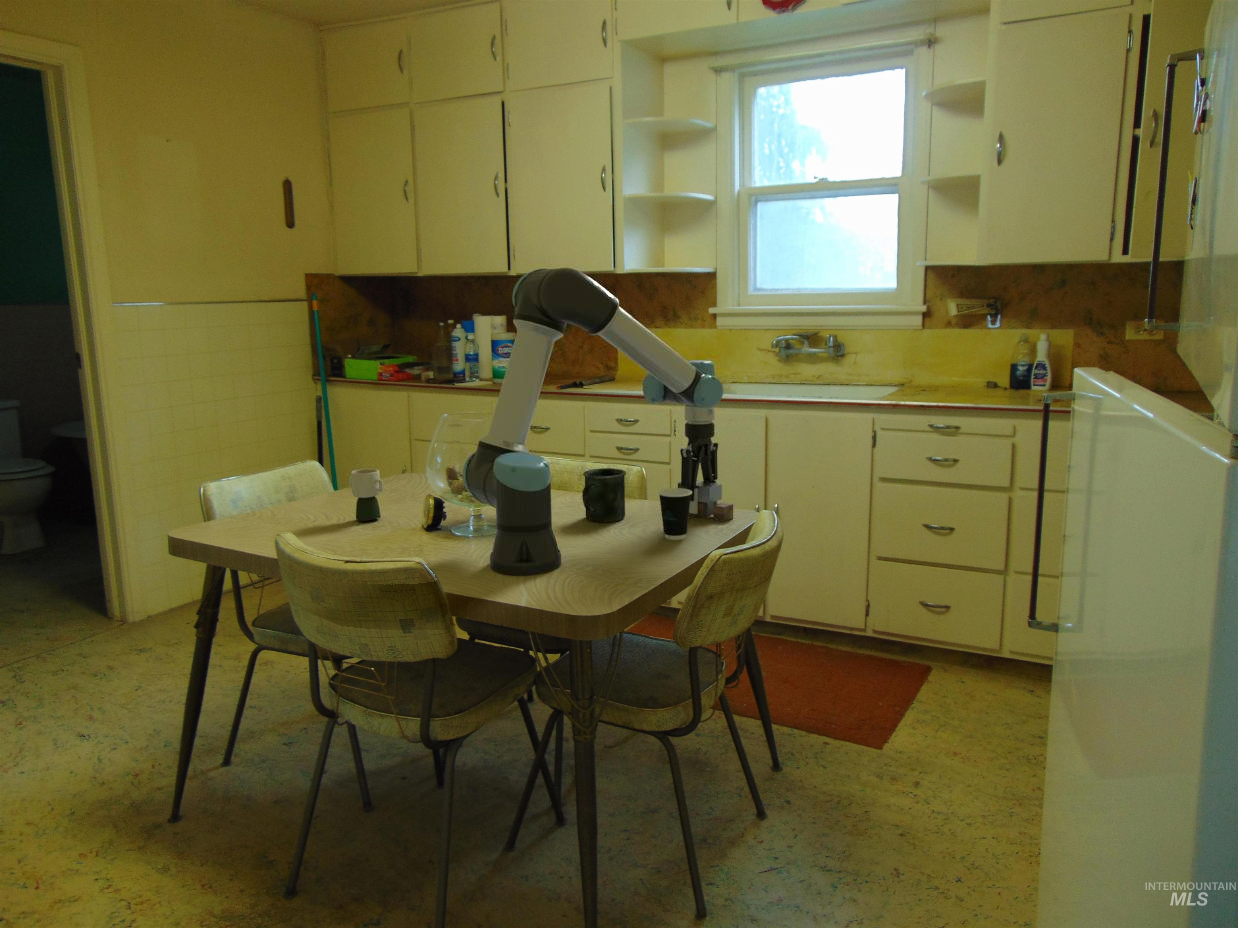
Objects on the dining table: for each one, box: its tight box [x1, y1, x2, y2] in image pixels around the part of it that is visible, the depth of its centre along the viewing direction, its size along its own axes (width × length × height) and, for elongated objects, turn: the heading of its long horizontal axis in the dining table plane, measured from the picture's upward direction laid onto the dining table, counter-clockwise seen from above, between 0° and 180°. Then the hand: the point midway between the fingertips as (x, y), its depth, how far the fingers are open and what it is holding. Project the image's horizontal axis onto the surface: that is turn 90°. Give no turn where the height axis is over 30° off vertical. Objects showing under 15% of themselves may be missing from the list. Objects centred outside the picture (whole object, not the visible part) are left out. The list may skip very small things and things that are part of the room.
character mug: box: [348, 468, 384, 522], centre depth 231 cm, size 11×7×13 cm, turn 64°
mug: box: [581, 467, 627, 523], centre depth 227 cm, size 11×15×12 cm
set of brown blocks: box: [689, 501, 734, 522], centre depth 231 cm, size 4×18×4 cm, turn 49°
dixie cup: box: [657, 487, 692, 541], centre depth 210 cm, size 8×8×11 cm
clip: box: [677, 479, 723, 516], centre depth 231 cm, size 10×6×8 cm, turn 49°
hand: (699, 510), depth 231 cm, fingers closed on clip, 5 cm apart
